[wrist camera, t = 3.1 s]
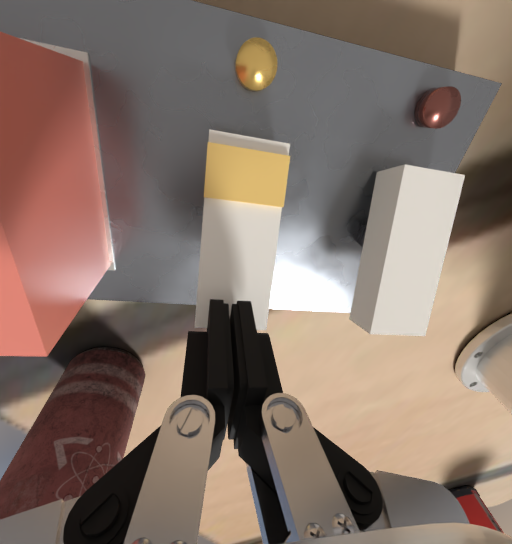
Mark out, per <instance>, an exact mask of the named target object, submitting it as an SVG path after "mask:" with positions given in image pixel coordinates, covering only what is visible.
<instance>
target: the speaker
mask: <svg viewBox="0 0 512 544" xmlns="http://www.w3.org/2000/svg"><path fill="white" fill-rule="evenodd" d="M449 491H450V492H451V493H452V494H453V495H454V497H455V498H456V499H457V500H458V501H459V503H460V505H461V506H462V508H463V510H464V512H465V514H466V516H467V518H468V521H469V523H470V524H473V525H478V526H483V527H487V528H490V529H493V530H496V531H499V532H502V533H503V531H502V529H501V528H500V527H499V525H498V523H497V522H496V521H495V519H494V518H493V516H492V514H491V513H490V511H489V510H488V508H487V507H486V505H485V504H484V502H483V501H482V499H481V498H480V495H479V494H478V492H477V490H476V489H475V488H472V487H468V486H461V487H460V488H456V489H451V490H449Z"/></svg>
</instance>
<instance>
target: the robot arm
mask: <svg viewBox="0 0 512 544" xmlns="http://www.w3.org/2000/svg"><path fill="white" fill-rule="evenodd" d="M455 373H456V377H457V378H458V379H459V380H460V382H461V383H462V384H463V385H464V386H465V387H466V388H468V389H470V390H473V391H478V392H491V393H492V394H493V395H494V396H495V397H496V398H497V399H498V400H499V401H500V403H501V404H502V405H503V406H504V407H505V408H506V409H507V410H508V411H509V412H510V413H511V414H512V313H511V314H509V315H507V316H505V317H503V318H501V319H499V320H498V321H496V322H494V323H493V324H491V325H489V326H488V327H487V328H485V329H484V330H483V331H481V332H480V333H479V334H478V335H476V336H475V337H474V338H473V339H472V340H471V341H470V342H469V343H468V344H467V346H466V347H465V348H464V349H463V351H462V352H461V354H460V355H459V357H458V360H457V362H456V366H455ZM227 423H228V439H234V449H238V452H239V456H240V457H241V458H242V459H243V460H244V461H245V462H246V465H247V472H248V477H249V481H250V486H251V490H252V495H253V500H254V504H255V509H256V513H257V518H258V522H259V527H260V531H261V536H262V540H263V544H512V537H511V536H508V535H506V534H504V533H502V532H499V531H496V530H493V529H490V528H487V527H483V526H478V525H473V524H470V523H469V521H468V518H467V516H466V514H465V512H464V510H463V508H462V506H461V505H460V503H459V501H458V500H457V499H456V498H455V497H454V495H453V494H452V493H451V492H450V491H449V490H447V489H446V488H445V487H443V486H442V485H440V484H438V483H435V482H432V481H427V480H422V479H417V478H412V477H408V476H403V475H398V474H393V473H388V472H383V471H378V470H377V471H376V472H375V473H374V472H369V471H368V470H367V469H366V468H365V467H364V466H362V465H361V464H360V463H358V462H357V461H356V460H355V459H353V458H352V457H351V456H350V455H348V454H347V453H346V452H344V451H343V450H342V449H341V448H339V447H338V446H337V445H335V444H334V443H333V442H332V441H330V440H329V439H328V438H326V437H325V436H324V435H323V434H321V433H320V432H319V431H317V430H316V429H315V428H314V427H313V426H312V424H311V421H310V419H309V417H308V415H307V413H306V410H305V409H304V407H303V405H302V404H301V403H300V402H299V401H298V400H297V399H296V398H294V397H293V396H291V395H289V394H285V393H283V391H282V387H281V383H280V379H279V375H278V370H277V366H276V362H275V358H274V354H273V350H272V345H271V341H270V337H269V335H268V333H257V330H256V325H255V320H254V314H253V309H252V304H251V301H237V304H232V307H231V314H230V317H229V304H227V303H224V300H218V299H210V304H209V314H208V325H207V332H194V331H189V332H188V339H187V347H186V356H185V365H184V373H183V382H182V390H181V398H179V399H177V400H176V401H174V402H173V403H172V404H171V405H170V406H169V408H168V409H167V411H166V413H165V416H164V419H163V422H162V425H161V426H160V427H159V428H158V429H156V430H155V431H154V432H153V433H152V434H151V435H149V436H148V437H147V438H146V439H145V440H144V441H143V442H141V443H140V444H139V445H138V446H137V447H136V448H135V449H133V450H132V451H131V452H130V453H129V454H128V455H127V456H125V457H124V458H123V459H122V460H121V461H120V462H119V463H117V464H116V465H115V466H114V467H113V468H112V469H111V470H109V471H108V472H107V473H106V474H105V475H104V476H103V477H101V478H100V479H99V480H98V481H97V482H96V483H94V484H93V485H92V486H91V487H90V488H89V489H88V490H86V491H85V492H84V494H83V495H82V496H80V497H77V498H74V499H71V500H68V501H65V502H64V501H63V499H61V500H58V501H55V502H52V503H49V504H46V505H43V506H40V507H37V508H34V509H31V510H28V511H25V512H22V513H19V514H16V515H13V516H10V517H7V518H4V519H1V520H0V544H197V540H198V533H199V526H200V520H201V513H202V506H203V499H204V493H205V486H206V479H207V472H208V470H209V469H210V468H211V467H212V465H213V464H214V463H215V462H216V461H217V459H218V458H219V457H220V451H221V446H222V441H223V440H224V438H225V432H226V427H227Z"/></svg>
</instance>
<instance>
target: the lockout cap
mask: <svg viewBox="0 0 512 544" xmlns="http://www.w3.org/2000/svg"><path fill="white" fill-rule="evenodd" d="M109 267H110V261H109V253H108V246H107V238H106V231H105V223H104V216H103V209H102V201H101V194H100V186H99V179H98V171H97V164H96V156H95V149H94V141H93V134H92V126H91V119H90V112H89V104H88V97H87V89H86V82H85V74H84V67H83V61H80V60H78V59H75V58H72V57H69V56H67V55H64V54H61V53H58V52H56V51H53V50H50V49H47V48H45V47H42V46H39V45H36V44H33V43H31V42H28V41H25V40H22V39H20V38H17V37H14V36H11V35H9V34H6V33H3V32H0V356H48V355H49V353H50V352H51V350H52V349H53V347H54V346H55V345H56V343H57V342H58V340H59V339H60V337H61V336H62V334H63V333H64V332H65V330H66V329H67V327H68V326H69V324H70V323H71V321H72V320H73V319H74V317H75V316H76V314H77V313H78V311H79V310H80V308H81V307H82V306H83V304H84V303H85V301H86V300H87V298H88V297H89V296H90V294H91V293H92V291H93V290H94V288H95V287H96V285H97V284H98V283H99V281H100V280H101V278H102V277H103V275H104V274H105V272H106V271H107V270H108V268H109Z"/></svg>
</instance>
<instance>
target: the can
mask: <svg viewBox="0 0 512 544" xmlns="http://www.w3.org/2000/svg"><path fill="white" fill-rule="evenodd" d="M144 379H145V372H144V369H143V366H142V364H141V362H140V361H139V360H138V359H137V358H136V357H135V356H134V355H132V354H130V353H129V352H127V351H124V350H121V349H118V348H111V347H99V348H93V349H90V350H87V351H84V352H82V353H80V354H79V355H77V356H76V357H74V358H73V359H72V360H71V361H70V363H69V365H68V366H67V368H66V370H65V371H64V373H63V375H62V376H61V378H60V380H59V382H58V383H57V385H56V387H55V388H54V390H53V392H52V393H51V395H50V397H49V399H48V400H47V402H46V404H45V405H44V407H43V409H42V410H41V412H40V414H39V416H38V417H37V419H36V421H35V422H34V424H33V426H32V427H31V429H30V431H29V433H28V434H27V436H26V438H25V439H24V441H23V443H22V444H21V446H20V448H19V450H18V451H17V453H16V455H15V456H14V458H13V460H12V462H11V463H10V465H9V467H8V468H7V470H6V472H5V474H4V475H3V477H2V479H1V480H0V520H1V519H4V518H7V517H10V516H13V515H16V514H19V513H22V512H25V511H28V510H31V509H34V508H37V507H40V506H43V505H46V504H49V503H52V502H55V501H58V500H61V499H63V501H64V502H65V501H68V500H71V499H74V498H77V497H80V496H82V495H83V494H84V492H85V491H86V490H88V489H89V488H90V487H91V486H92V485H93V484H94V483H96V482H97V481H98V480H99V479H100V478H101V477H103V476H104V475H105V474H106V473H107V472H108V471H109V470H111V469H112V468H113V467H114V466H115V465H116V464H117V463H119V462H120V461H121V460H122V459H123V457H124V453H125V450H126V446H127V442H128V439H129V435H130V431H131V428H132V424H133V420H134V417H135V413H136V409H137V406H138V402H139V398H140V395H141V391H142V387H143V384H144Z"/></svg>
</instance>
